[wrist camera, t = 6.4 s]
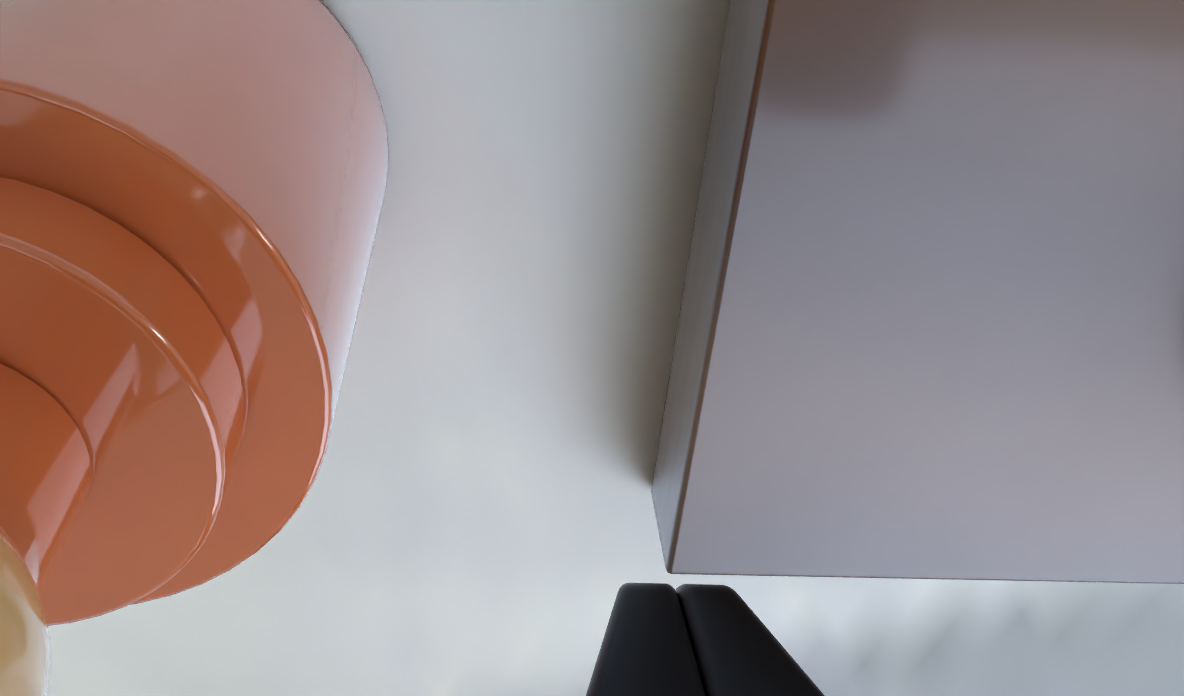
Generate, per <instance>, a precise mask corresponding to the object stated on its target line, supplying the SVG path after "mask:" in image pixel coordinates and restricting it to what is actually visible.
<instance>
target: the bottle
mask: <svg viewBox="0 0 1184 696" xmlns="http://www.w3.org/2000/svg"><path fill="white" fill-rule="evenodd" d="M388 154H389V151H388V141H387V131H386V124H385V120H384V115H383V111H382V107H381V103H380V99H379V96H378V94H377V91H376V88H375V86H374V83H373V80H372V78H371V75H370V73H369V71H368V69H367V67H366V65H365V63H364V61H363V59H362V58H361V56H360V54H359V52H358V50H357V48H356V46H355V45H354V43H353V42H352V41H351V39H350V38H349V36H348V35H347V33H346V32H345V31H344V29H343V28H342V26H341V25H340V23H339V22H338V21H337V19H336V18H335V17H334V16H333V15H332V14H331V13H330V12H329V11H328V9H327V8H326V7H325V6H324V5H323V4H322V3H321V2H320V0H0V696H47V689H48V681H49V674H50V638H49V632H48V626H49V625H57V624H64V623H71V622H76V621H80V620H84V619H88V618H93V617H97V616H101V615H103V614H106V613H109V612H112V611H114V610H117V609H120V608H123V607H125V606H127V605H131V604H137V603H141V602H146V601H150V600H154V599H158V598H162V597H166V596H170V595H173V594H176V593H179V592H181V591H184V590H187V589H190V588H193V587H195V586H198V585H201V584H203V583H205V582H207V581H209V580H211V579H213V578H215V577H217V576H219V575H221V574H223V573H225V572H227V571H229V570H231V569H232V568H234V567H235V566H237V565H238V564H240V563H241V562H243V561H244V560H246V559H247V558H248V557H250V556H251V555H253V554H254V553H256V552H257V551H258V550H259V549H260V548H261V547H263V546H264V545H265V544H266V543H267V542H268V541H269V540H270V539H271V538H272V537H274V536H275V535H276V534H277V533H278V532H279V531H280V530H281V529H282V528H283V527H284V526H285V524H286V523H287V522H288V521H289V520H290V518H291V517H292V516H293V515H294V513H295V512H296V511H297V510H298V508H299V507H300V506H301V504H302V503H303V501H304V499H305V497H306V496H307V494H308V492H309V490H310V489H311V487H312V485H313V483H314V482H315V480H316V477H317V475H318V472H319V469H320V467H321V464H322V461H323V458H324V456H325V453H326V450H327V445H328V441H329V437H330V432H331V428H332V423H333V419H334V415H335V410H336V406H337V402H338V397H339V393H340V388H341V384H342V380H343V375H344V371H345V366H346V362H347V358H348V353H349V349H350V344H351V340H352V336H353V331H354V327H355V322H356V318H357V314H358V309H359V305H360V300H361V296H362V292H363V287H364V283H365V278H366V274H367V270H368V265H369V261H370V256H371V252H372V248H373V243H374V239H375V234H376V230H377V226H378V221H379V217H380V212H381V208H382V204H383V199H384V193H385V188H386V183H387V177H388Z"/></svg>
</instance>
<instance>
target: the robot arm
mask: <svg viewBox="0 0 1184 696" xmlns="http://www.w3.org/2000/svg"><path fill="white" fill-rule="evenodd" d="M586 696H824V695H823V693H822V692H821V691H820V690H819V689H818V687H817V686H816V685H815V684H814V683H813V682H812V680H811V679H810V678H809V677H808V676H807V675H806V673H805V672H804V671H803V670H802V669H801V668H800V666H799V665H798V664H797V663H796V662H795V661H794V659H793V658H792V657H791V656H790V655H789V654H788V652H787V651H786V650H785V649H784V648H783V647H782V645H781V644H780V643H779V642H778V641H777V639H776V638H775V637H774V636H773V635H772V634H771V632H770V631H769V630H768V629H767V628H766V627H765V625H764V624H763V623H762V622H761V621H760V620H759V618H758V617H757V616H756V615H755V614H754V613H753V611H752V610H751V609H750V608H749V607H748V606H747V604H746V603H745V602H744V601H743V600H742V598H741V597H740V596H739V595H738V594H737V593H736V592H735V591H734V590H733V589H731V588H730V587H728V586H725V585H702V584H684V585H681V586H679V587H678V588H677V589H676V590H675V589H674V588H673V587H672V586H670V585H669V584H657V583H625V584H624V585H622V586H621V587H620V589H619V591H618V594H617V597H616V600H615V603H614V607H613V610H612V613H611V616H610V619H609V623H608V626H607V629H606V632H605V636H604V639H603V642H602V645H601V649H600V652H599V655H598V658H597V662H596V665H595V668H594V671H593V675H592V678H591V681H590V684H589V687H588V691H587V694H586Z"/></svg>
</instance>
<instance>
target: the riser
mask: <svg viewBox="0 0 1184 696" xmlns="http://www.w3.org/2000/svg"><path fill="white" fill-rule="evenodd" d="M651 492H652V497H653V503H654V508H655V513H656V519H657V524H658V529H659V535H660V540H661V545H662V551H663V556H664V561H665V567H666V570H667V572H668V573H671V574H705V575H757V576H808V577H860V578H911V579H963V580H1014V581H1066V582H1117V583H1169V584H1184V0H730V4H729V11H728V17H727V23H726V29H725V36H724V42H723V48H722V54H721V61H720V67H719V73H718V79H717V86H716V92H715V98H714V104H713V110H712V117H711V123H710V129H709V135H708V142H707V148H706V154H705V160H704V167H703V173H702V179H701V185H700V191H699V198H698V204H697V210H696V216H695V223H694V229H693V235H692V241H691V248H690V254H689V260H688V266H687V273H686V279H685V285H684V291H683V297H682V304H681V310H680V316H679V322H678V329H677V335H676V341H675V347H674V354H673V360H672V366H671V372H670V378H669V385H668V391H667V397H666V403H665V410H664V416H663V422H662V428H661V435H660V441H659V447H658V453H657V460H656V466H655V472H654V478H653V484H652V491H651Z"/></svg>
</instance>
